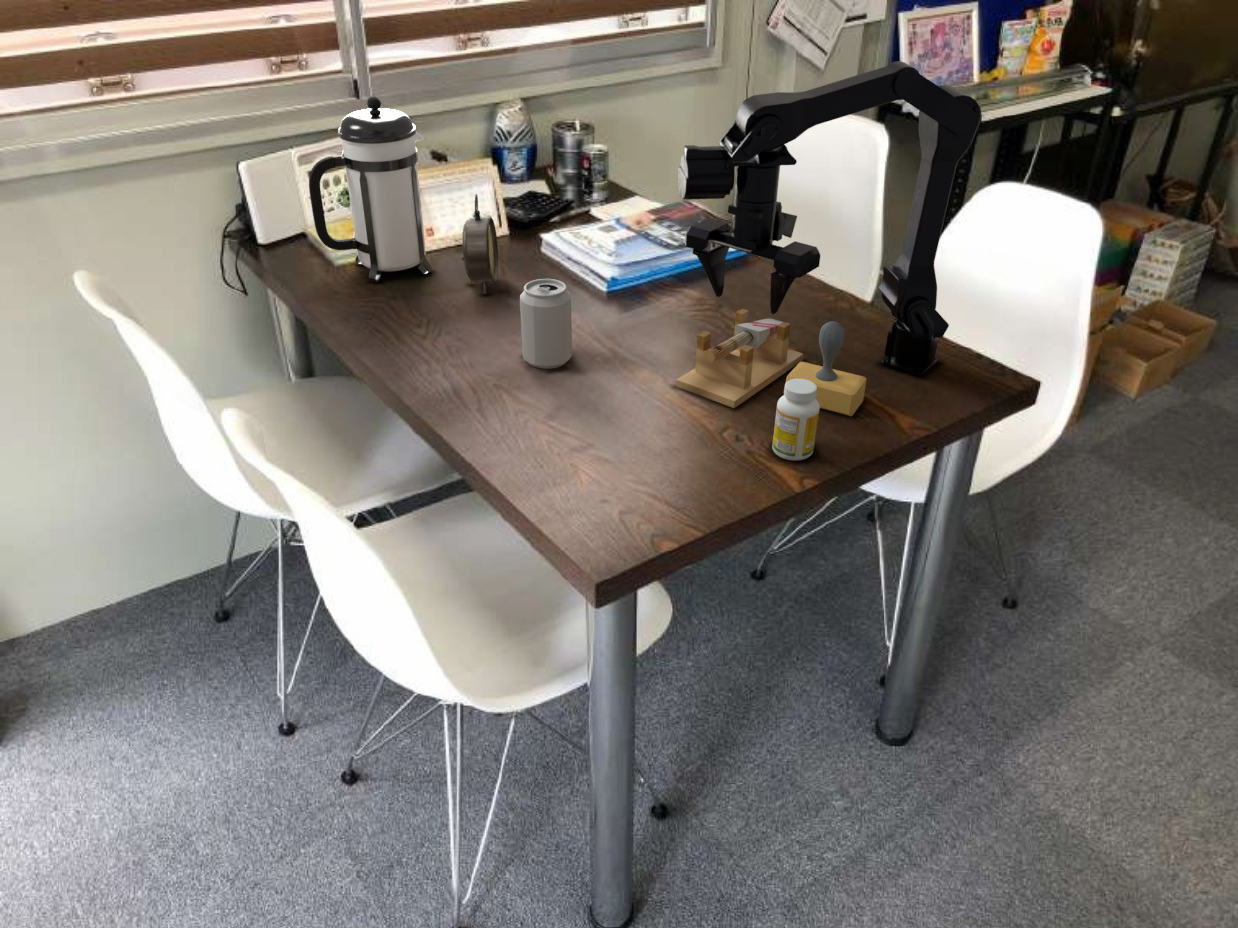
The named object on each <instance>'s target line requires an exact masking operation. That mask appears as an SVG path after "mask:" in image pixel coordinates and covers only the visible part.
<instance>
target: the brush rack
mask: <svg viewBox="0 0 1238 928" xmlns="http://www.w3.org/2000/svg"><path fill="white" fill-rule="evenodd" d="M749 314H750V310H748V309H745V308H741V309H739V310H737V311H735V319H734V320H735V321H734V332H733V333H734V335H733V337H734V336H736V333H737V329H736V325H738V324H743V323H748V322H749ZM782 322H783V323H781V324H779V325H778V327H777V331H776V332H775V333H774V332H772V333H771V334H770V335H769V336H768V337H767V340H766V341H765V342H764V343H762V344H761V345H760V346H759V347H758V348H757V349H754V347H752V346H749V345H746V346H744V345H743V346H741V347H740V348H738V349H736V350H734V351H733V352H731V353H729V354H727V355H725V356H724V357H722V358H720V359H718V360H717V361H715V362H713V363H711V362H710V363H709V362H707V360H706V358H705V356H704V355H705V353H706V351H708V350H710V349H712V348H714V346H713V347H712V345H711V343H712V332H710V331H707V330H702V331H701V332H700V333H698V334H697V339H696V353H695V354H696V356H695V367H694V368H693V369H691V370H690V371H688V372H686V373H685V374H683V375H682V376H680V377H678V378H676V381H675V382H676V387H677V388H679V389H681V390H683V391H686V392H690V393H692V394H694V395H698V396H701V397H703V398H705V399H708V400H711V401H714V402H717V403H719V404H722V405H724V406H727V407H728V408H732V409H735V408H737V407H738V406H740V405H741V404H743V403H744V402H746V401H747V400H749V399H750V398H751V397H752V396H754V395H755V394H757V393H758V392H760V391H762V390H763V389H764V388H766V387H767V386H768V385H770V384H771V383H773V382H774V381H776V380H777V379H778V378H780V377H781V376H783V375H784V374H786V373H787V372H788V371H790V370H791V369H794V368H795V367H796V366H797V365H798V364H799V362H804V361H803V360H804V353H803V352H799V351H796V350H793V349H790V348H789V344H790V334H791V325H792V324H791V323H789V322H787V321H782Z"/></svg>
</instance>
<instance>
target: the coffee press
mask: <svg viewBox="0 0 1238 928" xmlns="http://www.w3.org/2000/svg"><path fill="white" fill-rule="evenodd" d="M366 101H367V102H366V105H367V107H368V108H366V109H365V108H364V109H361V110H356V111H353V112H351V113H349V114H347V115H346V116H345V117H344V118H343V119H342V120H341V123H340V127H339V128H338V129H337V134H338V137H339V139H340V141H341V146H342V153H341V156H333V155H331V156H327V157H324V158H322V159H320V160H318V161H317V162H316V163H315V164H314V165H313V167H312V168H311V170H310V173H309V177H308V191H309V199H310V204H311V211H312V217H313V218H312V219H313V223H314V228H315V231H316V234H317V236H318V238H319V240H320V241H321V243H322V244H323V245H324V246H325V247H326V248H329V249H331V250H335V251H350V250H356V252H357V255H356V257H355V258H354V261H355V263H356V264H357V265H358V266H362V265H363V266H364V267H366V268H368V269H370V270H369V273H368V281H369V282H370V283H377V284H378V283H379V282H380V281H381V277H382V275H383V273H384V272H398V271H404V270H409V269H411V268H417V269H418V271H419V272H420V273H421V274H423V275H428V274H430V273H431V272H432V270H433V268H432V265H431V264H430V262H429V261H428V259H427V258H426V242H425V241H426V240H425V230H424V221H423V220H424V219H423V210H422V199H421V190H420V179H419V170H418V169H419V168H418V161H419V156H418V148H417V147H416V143H417V142H423V141H425V138H424V137H423V136H422V134H421V133H419V132H418V131H417V127H416V126H417V125H415V124H414V123H413V122H412V119H411V118H410V117H409V116H408V115H407V114H406V113H404V112H402V111H400V110H396V109H392V108H391V109H390V108H383V107H382V108H381V106H382V101H381V99H380V98H379V97H377V96H374V95H372V96H369V98H368V99H367V100H366ZM337 167H344V168H345V174H346V182H347V189H348V197H349V203H350V210H351V218H352V225H353V231H354V232H353V233H354V234H353V237H351V238H346V239H336V238H333V237H332V236H331V235H330V234H329V232H328V230H327V229H328V228H327V224H326V218H325V210H324V204H323V198H322V191H321V179H322V177H323V175H324V174H325V172H327V171H329V170H331V169H336V168H337ZM421 263H422V264H423V265H424V266H423V265H422V264H421Z"/></svg>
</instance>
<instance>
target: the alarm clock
mask: <svg viewBox="0 0 1238 928" xmlns="http://www.w3.org/2000/svg"><path fill="white" fill-rule="evenodd" d="M473 214H474V217H469V218H467V219H466V221H465V222H464V224H463V227H462V233H461V234H462V238H461V239H462V241H461V242H462V245H461V246H462V257H461V260H462V261H463V265H464V269H465V272H466V275H467V277H468V279H469V280H470V282H469V284H468V285H471V283H474V284H476V283H478V284H479V283H482V289H483V292H482V294H483V296H487V295H488V292H487V290H488V283H495V282H496V281H497V280H498V276H499V243H498V237H497V236H498V235H497V230H496V225H495V221H494V218H492V217H491V216H481V215H480V214H481V212H480V210H479V198H478V193H475V194H474V212H473Z"/></svg>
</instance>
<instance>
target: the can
mask: <svg viewBox="0 0 1238 928" xmlns="http://www.w3.org/2000/svg"><path fill="white" fill-rule="evenodd" d="M519 309H520V329H521V331H520V333H521V351H522V358H523V359H524V361H526V362H527V363H528V364H529V365H530V366H532V367H535V368H537V369H543V370H548V369H549V370H550V369H557V368H559V367H562V366H564V365H566V363H567V362H568V361H570V360H571V358H572V357H573V339H572V338H573V337H572V336H573V335H572V334H573V333H572V332H573V331H572V294H571V293H570V292H569V291H568V288H567V284H565V282H563V281H561V280H558V279H554V278H539V279H538V278H537V279H533V280H530V281H529V282H527V283H525V285H524V286H523V291H522V292H521V294H520V295H519Z"/></svg>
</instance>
